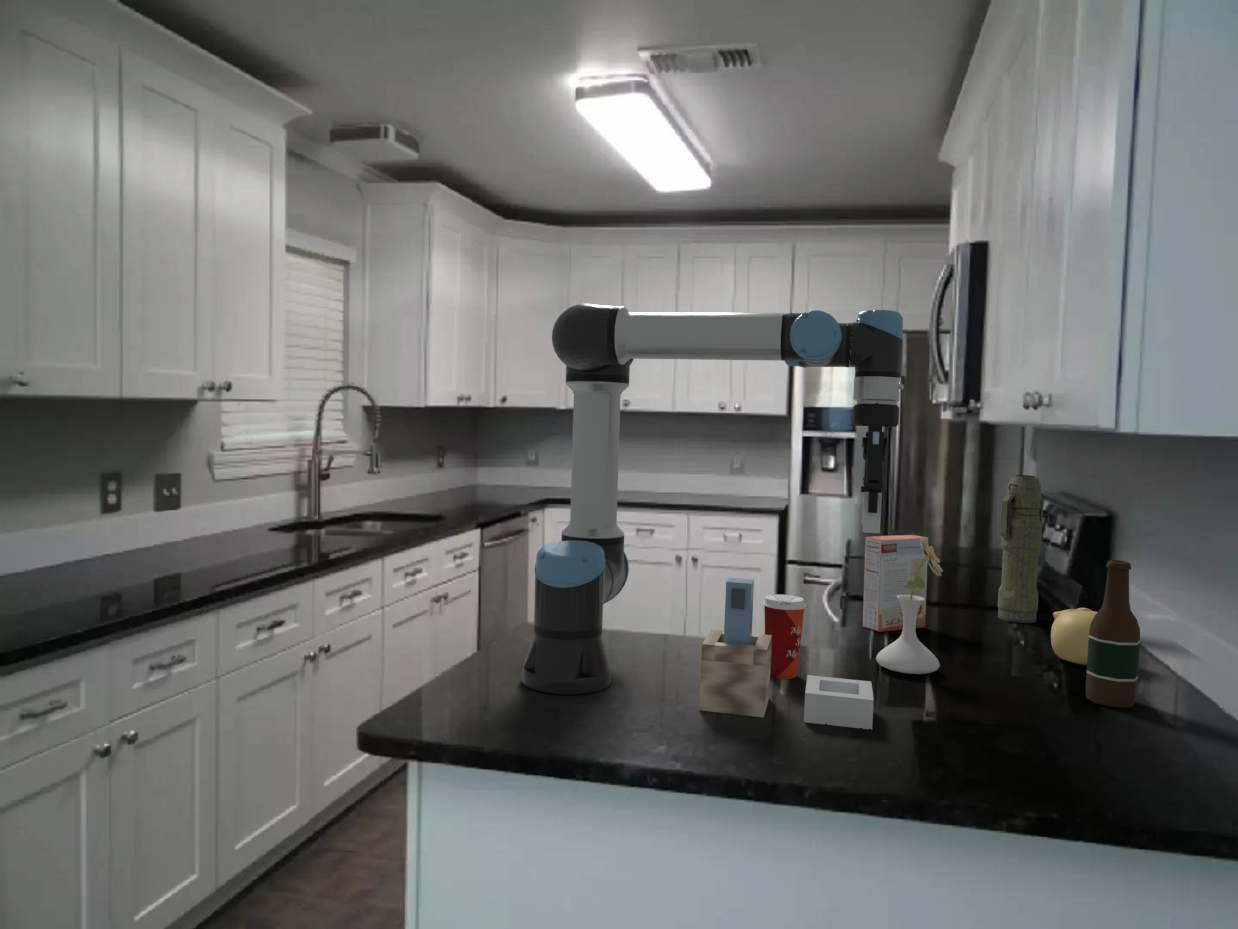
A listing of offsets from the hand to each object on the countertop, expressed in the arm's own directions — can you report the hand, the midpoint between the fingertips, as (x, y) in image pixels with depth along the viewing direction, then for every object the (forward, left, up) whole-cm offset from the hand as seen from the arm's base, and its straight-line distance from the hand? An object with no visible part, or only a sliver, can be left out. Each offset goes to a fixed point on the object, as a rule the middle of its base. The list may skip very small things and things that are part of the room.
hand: (870, 528), depth 150 cm
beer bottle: (+41, +9, -28) cm, 50 cm away
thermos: (+38, +75, -28) cm, 88 cm away
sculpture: (+43, +36, -28) cm, 63 cm away
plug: (-20, -15, -20) cm, 32 cm away
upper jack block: (-20, -15, -28) cm, 38 cm away
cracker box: (+8, +53, -28) cm, 60 cm away
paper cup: (-14, +5, -28) cm, 32 cm away
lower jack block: (-4, -15, -28) cm, 32 cm away
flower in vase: (+9, +17, -28) cm, 34 cm away
